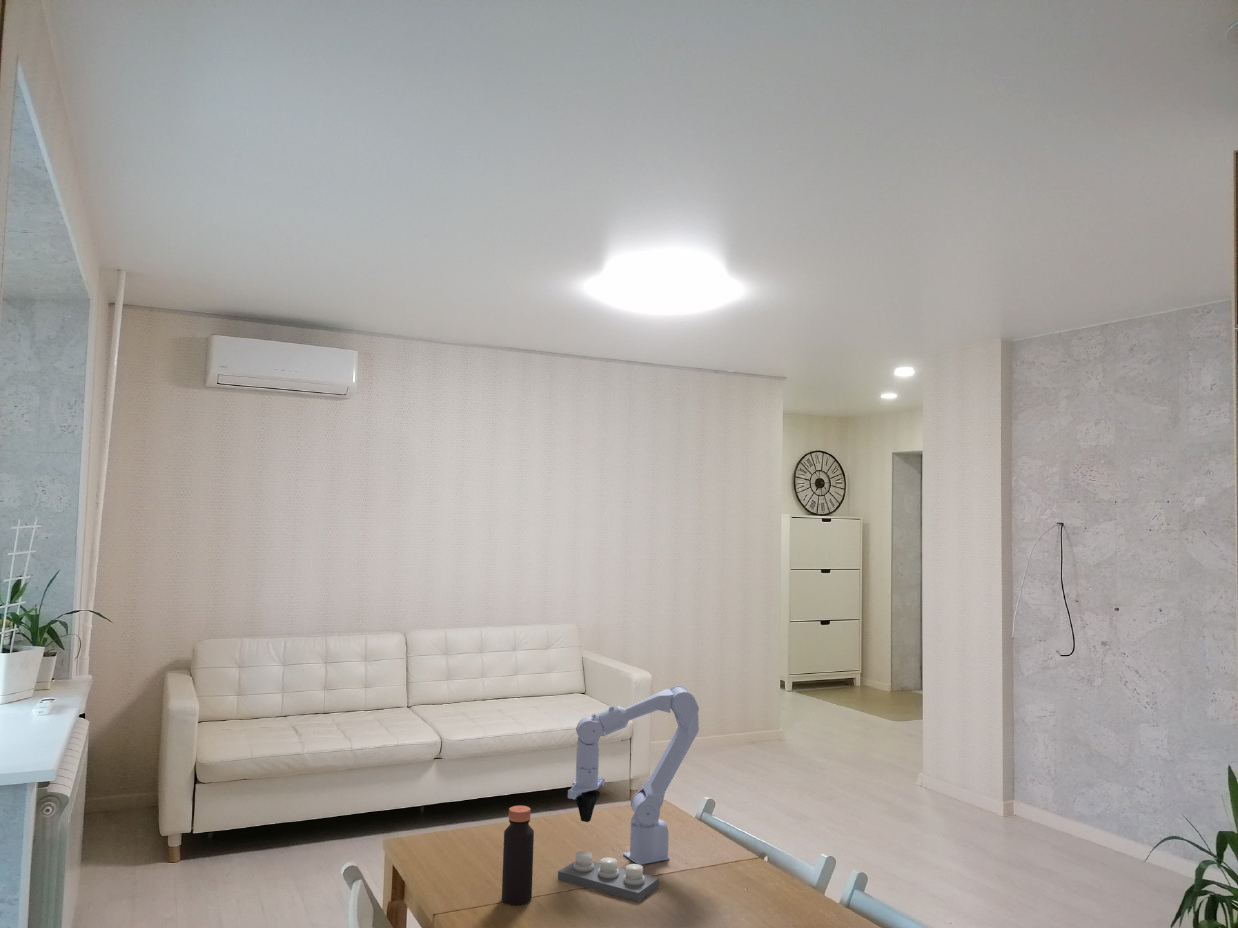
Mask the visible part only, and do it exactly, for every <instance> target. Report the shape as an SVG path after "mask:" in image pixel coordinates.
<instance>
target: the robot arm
mask: <svg viewBox="0 0 1238 928" xmlns="http://www.w3.org/2000/svg"><path fill="white" fill-rule="evenodd" d="M699 710H700V708H699V705H698V703H697V700H696V698H695V697H694V695H693V694H692V693H691V692H690V691H689V690H688V689H687V688H686V687H684V686H682V685H675V686H673V687H671V688H665V689H663V690H660V691H659V692H656V693H655V694H652V695H650V696H648V697H646V698H643V699H642V700H641V699H640V700H639V701H636V702H635V703H633V704H631V705H628V706H627V707H622V706H620V705H617V706H615V705H610V706H608V709H607V710H604V711H602V712H601V711H600V712H599V713H597V714H596V713H592V714H591V717H589V716H586V717H582V718H581V719H580V720H579V721H578V723H577V724H576V727H575V730H576V734H577V736H578V737H577V742H576V745H577V747H576V755H575V756H576V761H575V762H576V763H575V766H576V767H575V780H574V781H572V783H571V785H572V787H570V789H568V790H567V799H571V800H574V801H575V803H576V805H577V808H578V813H579V816H580V821H581V822H584V823H589V822H590V821H591V820H592V815H593V812H594V809H595V805H596V803H597V801H598V799H599V797H600V796H601V795H600V794H601V792H600V791H599V790H598V789H599V788H600V787H604V786H605V777H600V776H599V760H600V759H599V757H600V753H599V752H600V748H599V741H600V738H601V737H606V736H608V735H611V734H613V733H615V732H618V731H620V730H622V729H623V730H624V729H625V728H627V726H628V724H629V722H630V721H631V720H635V719H637V718H640V717H643V716H645V715H648V714H651V713H654V712H656V711H660V712H665V713H668V714H671V711H672V712H673V714H674V718H675V721H676V724H677V728H676V730H675V732H674V734H673V736H672V738H671V739H670V741H669V743H668V744H667V746H666V749H665V750H664V751H663V754H662V755H661V757H660V758H659V761H658V763H657V764H656V766H655V767H654V770H653V772H652V774H651V775H650V777H649V779H648V780H647V781H646V782H644V783H643V785H642V787H641V788H640V789H639V790H638V791H637V792H636V793H634V794H633V795H632V797H631V800H630V806H631V810H632V811H633V813H634V814H633V815H632V817H631V818H630V836H629V837H630V838H629V839H630V840H629V851H624V852H623V856H624V857H626V858H627V859H629V860H631V862H634V864H638V865H641V866H643V865H645V864H651V863H657V862H662V861H667V860H670V856H669V839H670V838H669V833H670V832H669V828H668V825H667V823H666V821H664V820H663V819H660V816H661V815H660V814H661V809H662V806H663V803H664V798H665V794H666V791H667V789H668V788H669V786H670V785H671V782H672V780H673V779H674V777H675V775H676V773H677V771H678V769H679V768H680V766H681V764H682V762H683V760H684V758H685V757H686V755H687V753H688V751H689V749H690V748H691V747H692V746H691V745H693V742H694V740H695V739H696V737H697V736H698V733H699V729H700V727H699V726H700V725H699V723H700V722H699Z"/></svg>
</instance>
